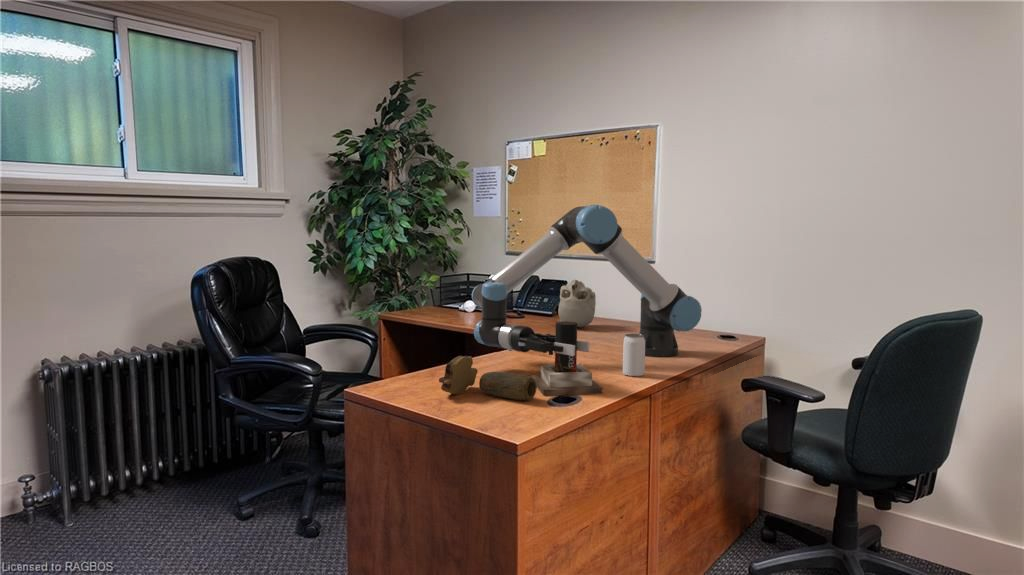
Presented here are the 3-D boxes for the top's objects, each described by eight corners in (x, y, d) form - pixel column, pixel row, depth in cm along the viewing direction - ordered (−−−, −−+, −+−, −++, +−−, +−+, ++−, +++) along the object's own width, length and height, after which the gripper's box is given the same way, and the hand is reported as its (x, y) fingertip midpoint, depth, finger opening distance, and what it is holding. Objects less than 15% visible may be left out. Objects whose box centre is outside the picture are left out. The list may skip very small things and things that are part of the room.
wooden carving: (463, 384, 170) (463, 349, 169) (478, 386, 169) (478, 350, 168) (435, 399, 155) (435, 361, 154) (451, 401, 153) (451, 362, 152)
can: (644, 377, 180) (645, 337, 179) (622, 376, 181) (623, 336, 180) (644, 372, 186) (645, 333, 185) (622, 371, 187) (623, 333, 186)
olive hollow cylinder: (539, 398, 157) (539, 373, 157) (526, 405, 151) (527, 379, 151) (489, 390, 165) (490, 366, 164) (476, 396, 158) (476, 371, 158)
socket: (585, 378, 178) (585, 361, 177) (602, 393, 162) (602, 374, 162) (531, 380, 175) (531, 363, 175) (543, 395, 160) (543, 376, 159)
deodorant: (564, 373, 173) (565, 320, 171) (580, 376, 168) (581, 323, 167) (550, 376, 169) (551, 322, 167) (566, 380, 164) (567, 325, 163)
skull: (565, 324, 280) (566, 276, 278) (598, 326, 274) (599, 277, 272) (553, 330, 262) (553, 279, 259) (587, 332, 256) (588, 280, 254)
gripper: (537, 346, 187) (600, 357, 171) (495, 355, 173) (559, 368, 158) (538, 322, 186) (601, 331, 171) (495, 329, 172) (560, 339, 157)
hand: (581, 349), depth 164 cm, fingers closed on deodorant, 6 cm apart
